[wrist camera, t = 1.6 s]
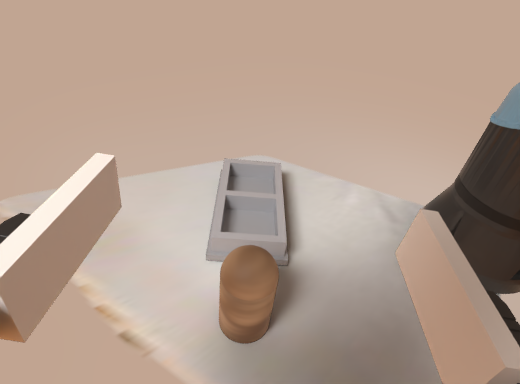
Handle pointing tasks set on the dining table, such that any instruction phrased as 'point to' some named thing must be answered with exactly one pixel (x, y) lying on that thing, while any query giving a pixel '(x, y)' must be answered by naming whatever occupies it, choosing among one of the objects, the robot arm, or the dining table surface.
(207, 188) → the dining table surface
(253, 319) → the wooden dome-top peg
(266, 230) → the two-compartment grey tray
